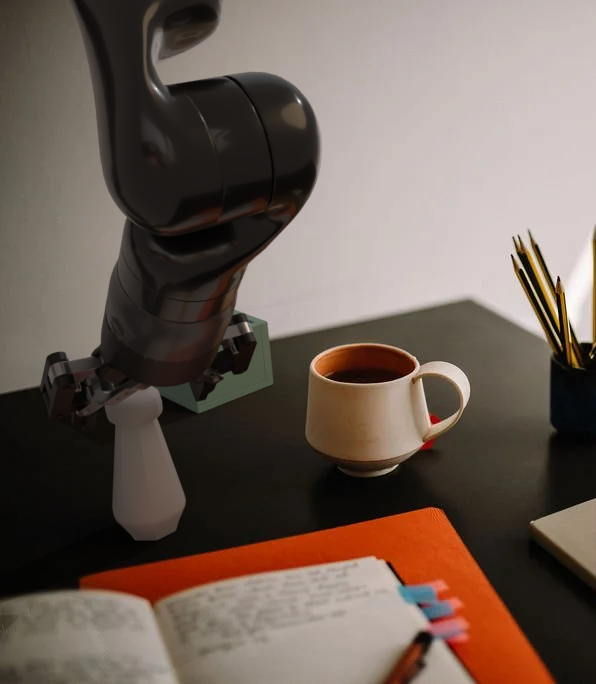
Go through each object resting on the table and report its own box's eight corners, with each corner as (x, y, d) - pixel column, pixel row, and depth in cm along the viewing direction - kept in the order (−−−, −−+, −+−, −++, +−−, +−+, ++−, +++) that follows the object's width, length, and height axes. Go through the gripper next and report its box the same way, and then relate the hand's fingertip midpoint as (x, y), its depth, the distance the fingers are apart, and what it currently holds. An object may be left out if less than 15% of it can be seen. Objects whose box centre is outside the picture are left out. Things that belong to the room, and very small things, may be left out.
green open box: (198, 414, 98) (189, 347, 95) (147, 389, 104) (137, 325, 101) (273, 384, 105) (267, 321, 102) (222, 362, 111) (215, 302, 108)
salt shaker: (129, 555, 74) (104, 413, 69) (107, 525, 78) (81, 388, 73) (199, 530, 77) (180, 392, 72) (175, 502, 81) (154, 370, 77)
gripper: (255, 240, 63) (214, 342, 76) (31, 277, 55) (28, 384, 68) (294, 333, 61) (245, 422, 74) (68, 386, 53) (57, 475, 66)
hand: (141, 404), depth 71 cm, fingers open, 8 cm apart
